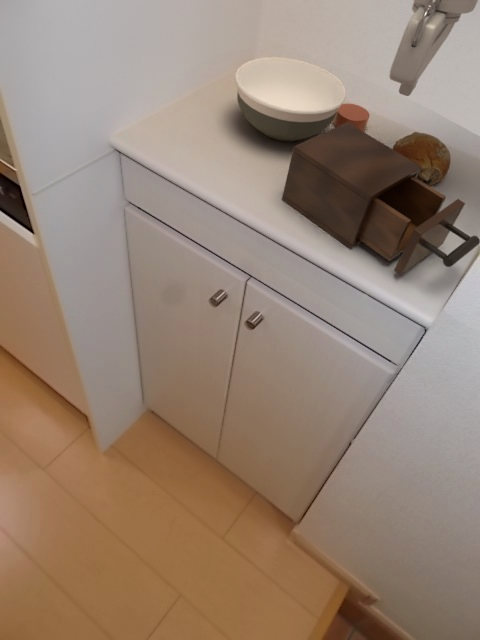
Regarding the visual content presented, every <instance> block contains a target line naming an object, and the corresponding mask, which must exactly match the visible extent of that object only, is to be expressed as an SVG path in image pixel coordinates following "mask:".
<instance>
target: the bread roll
mask: <svg viewBox="0 0 480 640" xmlns="http://www.w3.org/2000/svg"><path fill="white" fill-rule="evenodd" d="M392 149H393V150H394V151H396V152H398V153H399V154H401V155H403V156H404V157H406V158H408V159H409V160H411V161H413V162H414V163H416V164H418V165H419V166H421V169H420V171H419V174H418V176H417V179H418V180H420V181H422V182H423V183H425V184H427V185H428V186H430V187H431V186H433V185H436V184H437V183H439V182H441V181H443V180H444V179H445V177H446V176H447V174H448V172H449V170H450V166H451V152H450V150H449V149H448V148H447V146H446V145H445V144H444V143H443V142H442V141H441V140H440V139H439V138H438V137H436V136H434V135H431V134H428V133H424V132H419V131H414V132H413V133H411V134H408V135H406V136H404V137H402V138H400V139H398V140H397V141H395V142H394V145H393V148H392Z"/></svg>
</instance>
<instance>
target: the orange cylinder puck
mask: <svg viewBox="0 0 480 640" xmlns="http://www.w3.org/2000/svg"><path fill="white" fill-rule="evenodd" d="M370 117H371V116H370V112H369V111H368V109H366V108H365V107H363V106H361V105H359V104H355V103H343V104H342V105H341V106H340V107H339V109H338V111H337V113H336V115H335V118H334V120H333V121H332V122H333V125H334V128H336V127H338V126H340V125H343V124H345V123H347V122H348V123H349V124H351V125H353V126H354V127H356V128H358V129H359V130H361V131H363V132H364V133H365V130H366V128H367V125H368V122H369V119H370Z"/></svg>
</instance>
